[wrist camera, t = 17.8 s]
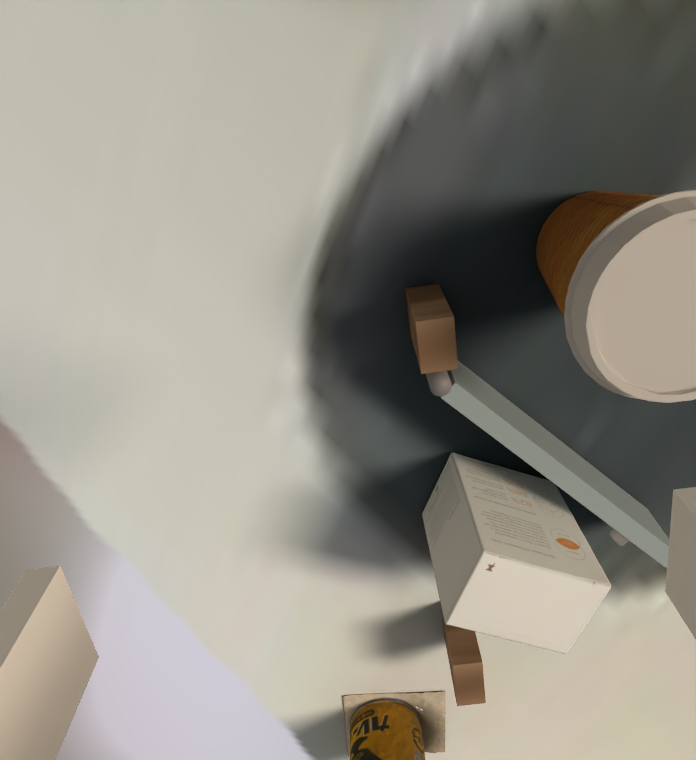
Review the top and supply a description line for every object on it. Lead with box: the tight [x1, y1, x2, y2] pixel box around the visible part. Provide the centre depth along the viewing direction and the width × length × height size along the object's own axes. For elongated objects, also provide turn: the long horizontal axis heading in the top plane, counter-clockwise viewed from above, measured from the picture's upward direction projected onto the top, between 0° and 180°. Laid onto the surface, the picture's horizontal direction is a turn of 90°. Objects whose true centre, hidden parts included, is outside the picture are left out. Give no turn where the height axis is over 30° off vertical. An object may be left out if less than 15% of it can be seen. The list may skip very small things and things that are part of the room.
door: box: [426, 361, 669, 568], centre depth 41 cm, size 21×2×6 cm, turn 51°
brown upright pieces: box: [405, 284, 486, 706], centre depth 42 cm, size 29×2×6 cm, turn 8°
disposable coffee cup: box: [536, 190, 696, 403], centre depth 32 cm, size 10×10×12 cm
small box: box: [422, 452, 611, 654], centre depth 41 cm, size 8×6×10 cm
